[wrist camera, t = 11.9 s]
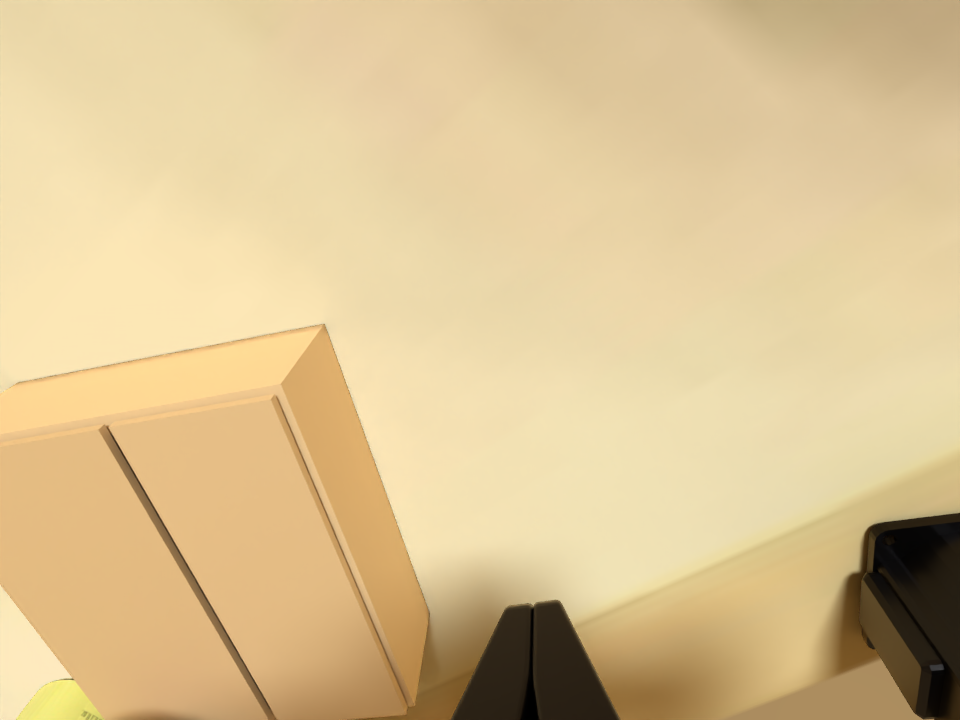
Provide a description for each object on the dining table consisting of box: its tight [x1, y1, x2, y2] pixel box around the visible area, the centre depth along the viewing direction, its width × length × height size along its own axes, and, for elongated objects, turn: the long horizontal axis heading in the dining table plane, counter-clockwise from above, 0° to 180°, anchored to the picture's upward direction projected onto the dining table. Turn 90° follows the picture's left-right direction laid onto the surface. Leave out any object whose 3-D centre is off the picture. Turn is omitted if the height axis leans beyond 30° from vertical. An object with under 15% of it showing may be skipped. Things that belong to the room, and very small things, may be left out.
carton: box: [0, 324, 429, 720], centre depth 22 cm, size 12×14×5 cm
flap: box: [108, 394, 408, 720], centre depth 20 cm, size 5×14×1 cm, turn 13°
